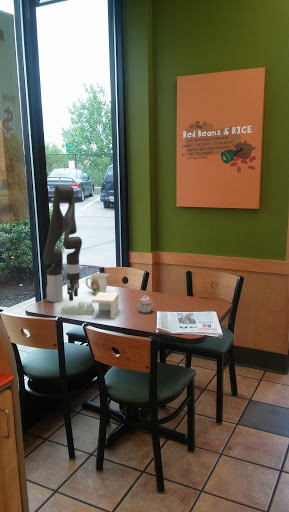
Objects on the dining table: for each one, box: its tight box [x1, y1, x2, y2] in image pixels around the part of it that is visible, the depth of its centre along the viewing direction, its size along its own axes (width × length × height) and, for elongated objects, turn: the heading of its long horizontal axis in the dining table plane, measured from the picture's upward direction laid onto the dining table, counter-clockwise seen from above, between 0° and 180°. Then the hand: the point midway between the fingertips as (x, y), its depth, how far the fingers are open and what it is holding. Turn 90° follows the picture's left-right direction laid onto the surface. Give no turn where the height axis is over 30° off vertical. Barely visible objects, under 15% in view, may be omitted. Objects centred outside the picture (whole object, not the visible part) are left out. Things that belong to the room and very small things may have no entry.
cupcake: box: [137, 295, 154, 314], centre depth 242 cm, size 9×9×10 cm
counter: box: [91, 291, 120, 320], centre depth 238 cm, size 12×16×10 cm
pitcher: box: [85, 272, 110, 296], centre depth 279 cm, size 11×18×14 cm, turn 68°
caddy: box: [60, 301, 95, 316], centre depth 240 cm, size 18×6×6 cm, turn 83°
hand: (73, 298), depth 239 cm, fingers open, 8 cm apart
